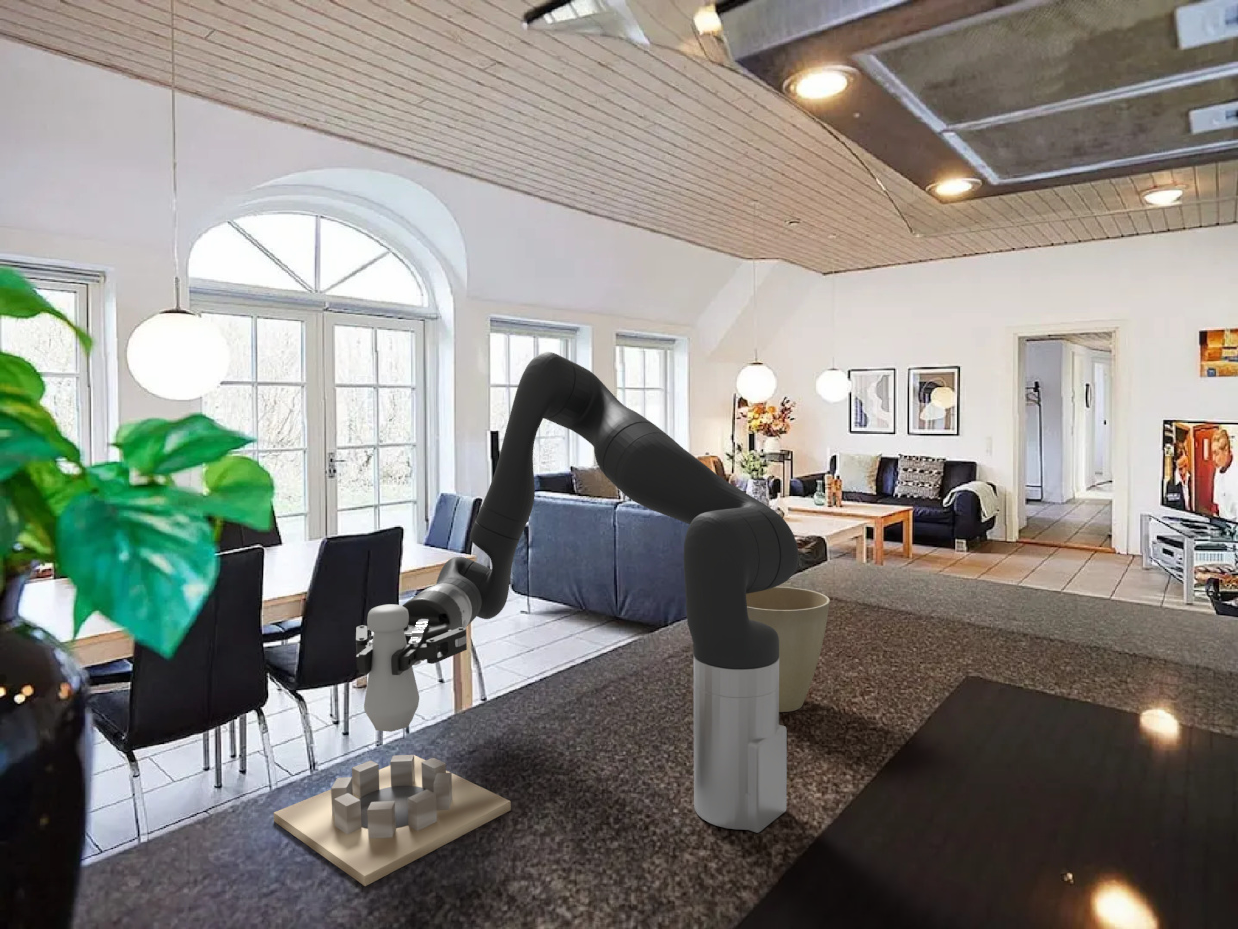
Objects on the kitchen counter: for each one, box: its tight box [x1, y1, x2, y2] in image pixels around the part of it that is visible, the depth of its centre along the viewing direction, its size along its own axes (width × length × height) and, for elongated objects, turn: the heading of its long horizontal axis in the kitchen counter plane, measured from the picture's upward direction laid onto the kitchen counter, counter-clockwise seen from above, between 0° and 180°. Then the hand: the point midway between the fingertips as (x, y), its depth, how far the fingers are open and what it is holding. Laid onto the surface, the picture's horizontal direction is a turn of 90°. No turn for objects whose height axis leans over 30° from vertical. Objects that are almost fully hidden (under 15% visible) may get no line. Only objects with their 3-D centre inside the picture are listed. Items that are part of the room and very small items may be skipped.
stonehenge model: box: [273, 754, 512, 887], centre depth 87 cm, size 18×18×4 cm
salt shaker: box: [363, 603, 420, 733], centre depth 86 cm, size 6×6×13 cm
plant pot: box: [746, 586, 831, 713], centre depth 117 cm, size 15×15×16 cm
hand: (378, 665), depth 83 cm, fingers closed on salt shaker, 3 cm apart
